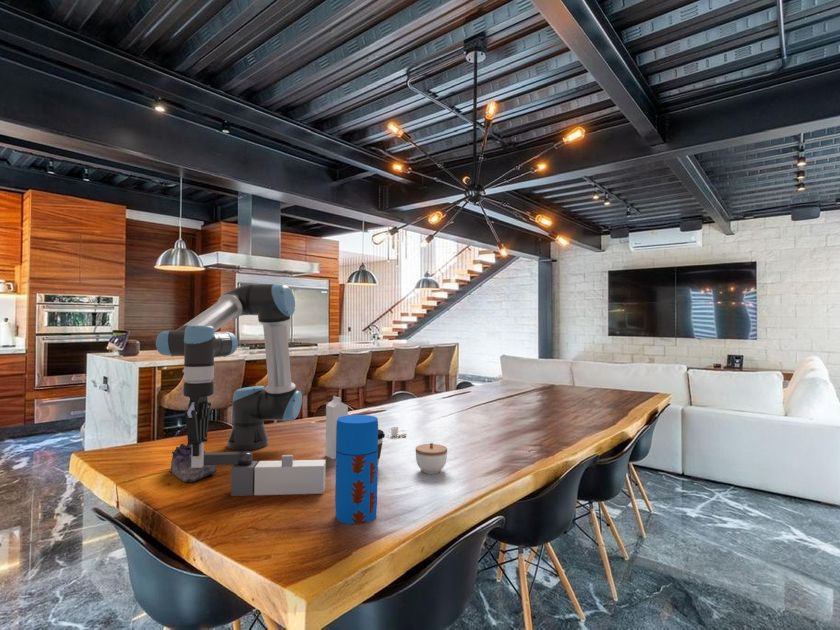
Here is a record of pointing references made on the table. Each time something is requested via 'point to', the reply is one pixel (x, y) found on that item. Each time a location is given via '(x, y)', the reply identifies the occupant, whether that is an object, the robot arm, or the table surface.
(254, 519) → the table surface
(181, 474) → the geode
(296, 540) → the table surface
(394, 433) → the teacup and saucer
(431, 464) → the lidded jar
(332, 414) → the milk
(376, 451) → the thermos
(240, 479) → the white box with knob
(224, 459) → the bar
